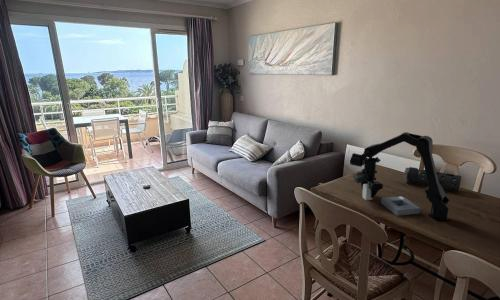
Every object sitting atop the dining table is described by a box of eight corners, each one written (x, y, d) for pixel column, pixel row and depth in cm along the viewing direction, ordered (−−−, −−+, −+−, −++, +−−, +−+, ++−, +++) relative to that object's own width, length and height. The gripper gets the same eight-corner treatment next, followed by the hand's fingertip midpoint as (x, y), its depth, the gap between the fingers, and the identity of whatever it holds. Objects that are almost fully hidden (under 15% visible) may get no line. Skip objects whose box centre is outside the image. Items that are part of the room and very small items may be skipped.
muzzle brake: (457, 195, 157) (460, 178, 154) (402, 184, 175) (404, 168, 172) (459, 189, 164) (462, 173, 161) (406, 179, 182) (407, 164, 179)
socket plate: (419, 213, 139) (420, 207, 138) (396, 215, 138) (397, 209, 137) (401, 201, 152) (402, 195, 151) (381, 203, 151) (381, 197, 150)
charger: (372, 199, 156) (373, 185, 154) (365, 200, 155) (366, 186, 153) (368, 196, 160) (370, 183, 157) (362, 197, 159) (363, 183, 157)
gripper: (348, 164, 161) (346, 189, 165) (364, 175, 143) (362, 203, 147) (366, 162, 162) (364, 187, 166) (384, 173, 144) (382, 201, 148)
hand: (367, 194), depth 157 cm, fingers open, 9 cm apart
